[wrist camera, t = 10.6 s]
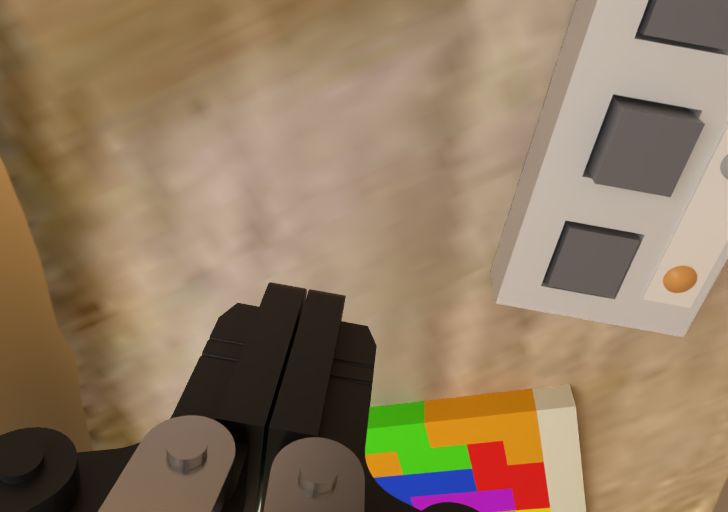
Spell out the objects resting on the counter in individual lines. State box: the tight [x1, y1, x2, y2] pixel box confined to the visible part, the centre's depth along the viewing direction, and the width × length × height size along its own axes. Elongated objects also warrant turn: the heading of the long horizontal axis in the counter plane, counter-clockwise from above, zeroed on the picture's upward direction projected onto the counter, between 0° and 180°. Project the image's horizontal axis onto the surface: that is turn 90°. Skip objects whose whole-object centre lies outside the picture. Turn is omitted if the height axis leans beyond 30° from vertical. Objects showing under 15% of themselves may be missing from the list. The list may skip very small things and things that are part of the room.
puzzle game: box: [258, 384, 586, 512], centre depth 55 cm, size 30×3×30 cm
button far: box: [545, 221, 640, 298], centre depth 40 cm, size 4×4×3 cm
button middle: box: [586, 94, 705, 197], centre depth 35 cm, size 4×4×3 cm
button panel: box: [490, 0, 728, 337], centre depth 37 cm, size 25×13×4 cm, turn 171°
